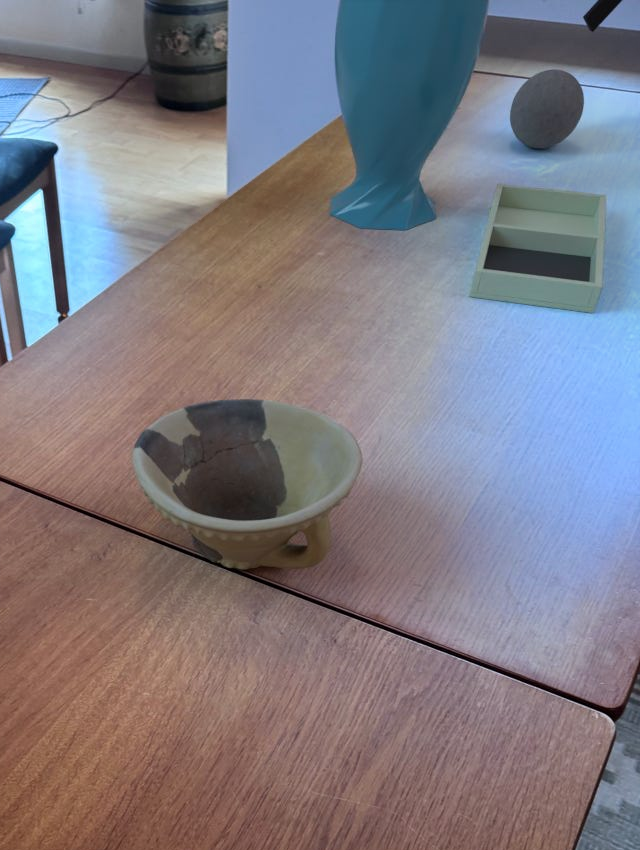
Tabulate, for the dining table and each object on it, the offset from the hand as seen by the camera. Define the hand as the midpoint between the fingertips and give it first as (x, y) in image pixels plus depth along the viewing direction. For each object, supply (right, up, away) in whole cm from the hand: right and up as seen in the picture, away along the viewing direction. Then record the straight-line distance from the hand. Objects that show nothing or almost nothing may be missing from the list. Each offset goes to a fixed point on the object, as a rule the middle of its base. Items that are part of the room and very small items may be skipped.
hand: (617, 36), depth 129 cm
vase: (-35, -27, -6) cm, 45 cm away
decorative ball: (-8, -11, +8) cm, 16 cm away
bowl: (-58, -78, -52) cm, 110 cm away
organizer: (-18, -38, -17) cm, 46 cm away
